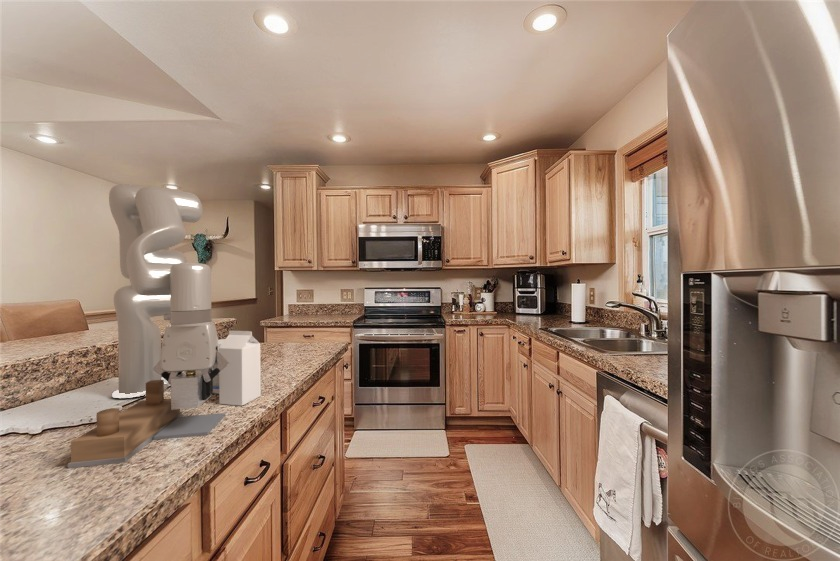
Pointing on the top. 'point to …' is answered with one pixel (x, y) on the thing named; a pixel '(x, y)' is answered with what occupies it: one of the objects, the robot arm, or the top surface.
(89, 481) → the top surface
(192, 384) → the grey block with knob
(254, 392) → the milk carton
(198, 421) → the mat
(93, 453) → the body
